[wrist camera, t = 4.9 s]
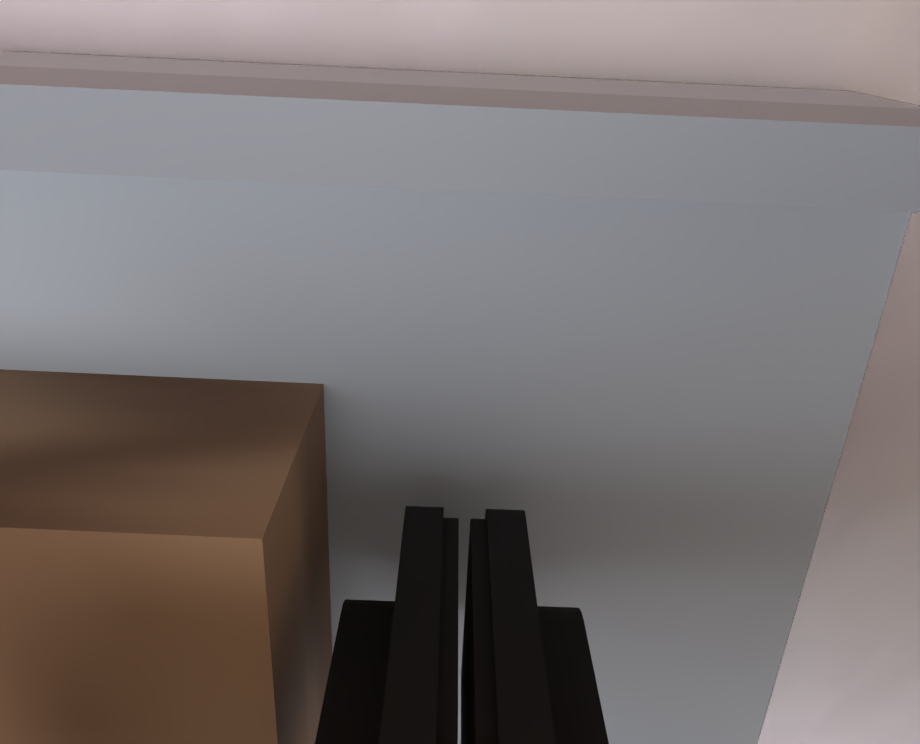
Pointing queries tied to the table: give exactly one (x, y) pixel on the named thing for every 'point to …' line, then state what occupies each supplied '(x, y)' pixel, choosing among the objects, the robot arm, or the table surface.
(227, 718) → the block
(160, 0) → the table surface
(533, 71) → the table surface
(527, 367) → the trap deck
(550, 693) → the robot arm
